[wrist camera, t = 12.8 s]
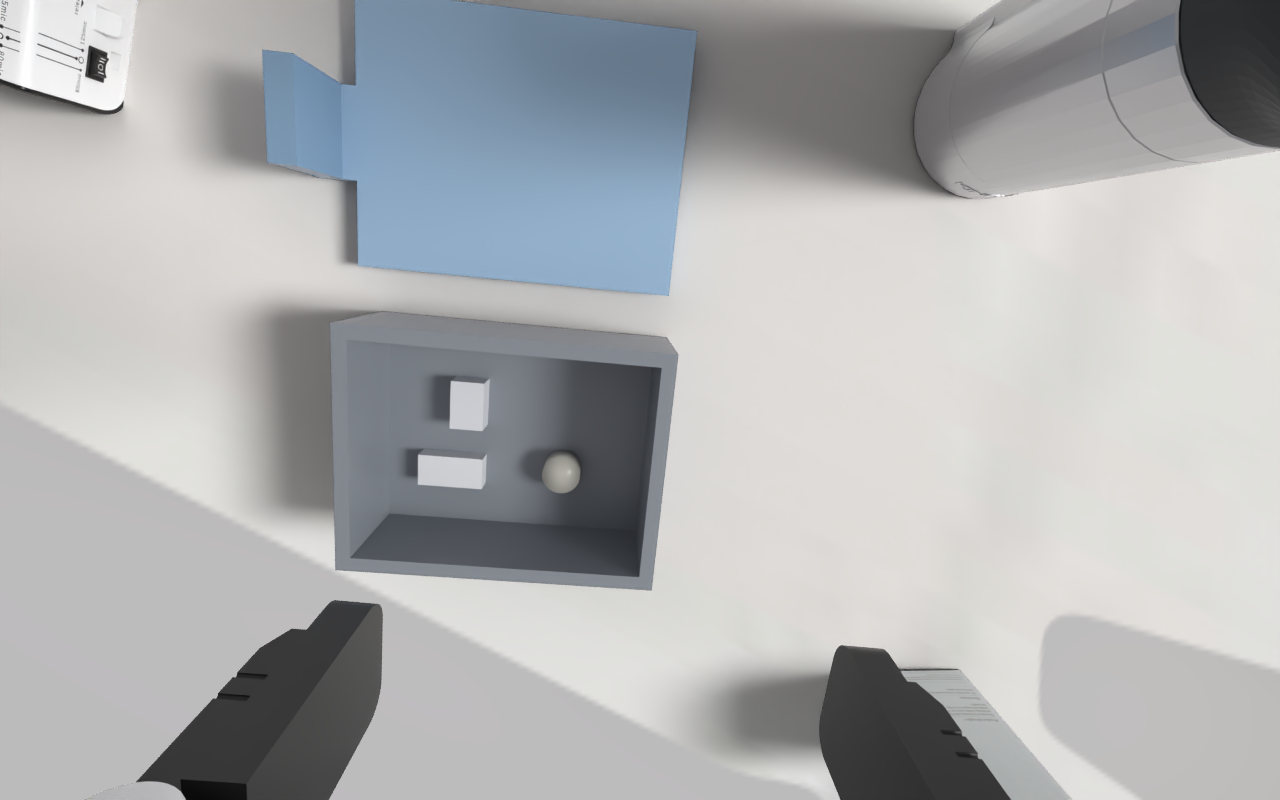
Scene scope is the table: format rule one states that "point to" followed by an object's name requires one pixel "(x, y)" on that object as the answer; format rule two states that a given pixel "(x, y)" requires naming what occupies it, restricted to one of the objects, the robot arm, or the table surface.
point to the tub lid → (498, 141)
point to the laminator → (68, 50)
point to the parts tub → (498, 449)
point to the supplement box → (990, 736)
